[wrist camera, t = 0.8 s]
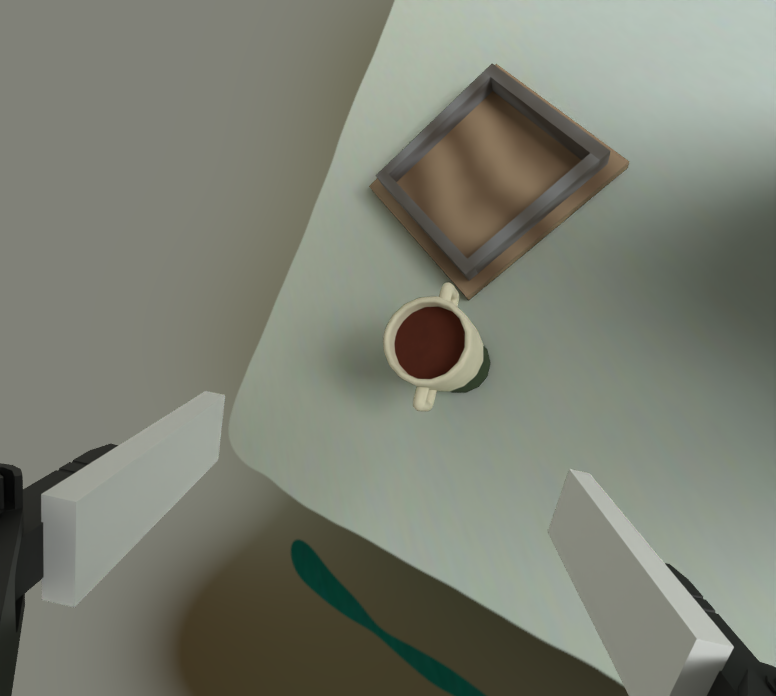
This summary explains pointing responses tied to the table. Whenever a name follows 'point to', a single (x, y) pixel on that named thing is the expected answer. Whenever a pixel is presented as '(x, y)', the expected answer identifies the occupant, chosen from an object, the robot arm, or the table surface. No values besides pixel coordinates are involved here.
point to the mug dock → (493, 178)
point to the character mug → (435, 347)
